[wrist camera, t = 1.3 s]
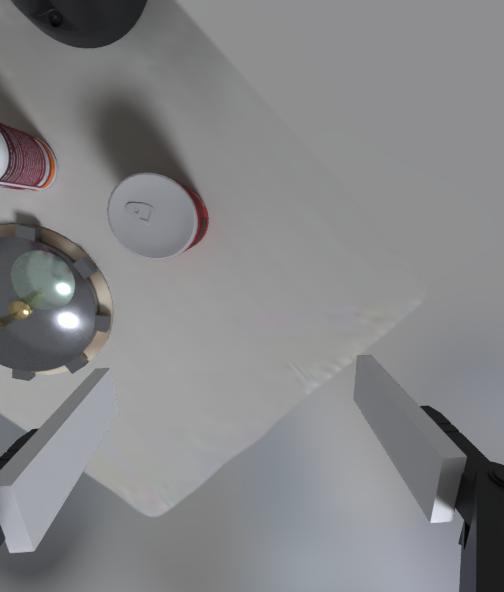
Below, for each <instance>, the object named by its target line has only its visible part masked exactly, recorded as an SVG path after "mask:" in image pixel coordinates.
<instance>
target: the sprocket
mask: <svg viewBox="0 0 504 592" xmlns="http://www.w3.org/2000/svg"><path fill="white" fill-rule="evenodd" d="M41 238H42V228H37V227H33V226H29V225H24V224H16V230H15V237H14V236H13V237H1V238H0V364H1V365H3V366H6V367H9V368H12V369H13V372H12V378H16V379H22V380H27V381H30V380H31V379H32V378H34V377H35V373H36V372H40V371H48V370H52V369H56V368H59V367H62V366H65V367H66V368H67V369H68V370H69V371H70V372H71V373H74V372H76V371H77V370H79V369H80V368H82V367H84V366H85V365H86V364H87V363H88V362H89V361H88V360H87V359H86V358H85V356H84V355H83V354H82V352H84V351H85V350H86V349H87V348H88V346H89V345H90V344H91V342H92V341H93V339H94V337H95V335H96V333H97V331H100V332H105V333H106V332H107V331H108V330H110V324H111V315H112V314H107V313H102V312H100V305H99V300H98V296H97V293H96V290H95V288H94V285H93V284H92V282H91V280H90V278H89V277H90V276H92V275H93V274H95V273H96V272H98V271H97V269H96V268H95V267H94V266H93V264H92V263H91V262H90V260H89V259H88V258H87V257H84V258H81V259H79V260H78V261H75V260H74V259H72V258H71V257H70V256H69V255H68V254H66V253H65V252H63V251H62V250H60V249H58V248H57V247H55V246H53V245H51V244H48V243H46V242H44V241H41Z"/></svg>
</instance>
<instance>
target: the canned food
mask: <svg viewBox="0 0 504 592" xmlns="http://www.w3.org/2000/svg"><path fill="white" fill-rule="evenodd" d="M107 213H108V221H109V224H110V227H111V229H112V231H113V234H114V235H115V237H116V238H117V239H118V241H119V242H120V243H121V244H122V245H123V246H124V247H125V248H126V249H127V250H129V251H130V252H132V253H133V254H136V255H138V256H140V257H143V258H147V259H153V260H162V259H169V258H172V257H175V256H177V255H179V254H181V253H183V252H184V251H186V250H188V249H189V248H191V247H193V246H194V245H196V244H197V243H198V242H199V241H201V240H202V238H203V237H204V236H205V233H206V231H207V228H208V219H209V218H208V212H207V209H206V207H205V205H204V203H203V201H202V200H201V199H200V198H199V197H198V195H196V194H195V193H194V192H193V191H191V190H190V189H188V188H186V187H185V186H183V185H181V184H180V183H178V182H177V181H175V180H173V179H171V178H169V177H167V176H164V175H160V174H157V173H147V172H145V173H137V174H134V175H131V176H128V177H127V178H125V179H123V180H122V181H121V182H120V183H119V184H118V185H117V186H116V187H115V188H114V190H113V191H112V193H111V195H110V198H109V201H108V208H107Z"/></svg>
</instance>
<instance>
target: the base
mask: <svg viewBox="0 0 504 592" xmlns="http://www.w3.org/2000/svg"><path fill="white" fill-rule="evenodd" d="M24 225H25V224H24ZM29 226H31V225H29ZM33 227H37V226H33ZM37 228H40V227H37ZM15 230H16V224H7V225H0V238H1V237H13V236H14V237H15ZM41 241H44V242H46V243H48V244H51V245H53V246H55V247H57V248H58V249H60V250H62V251H63V252H65V253H66V254H68V255H69V256H70V257H71V258H72V259H74V260H75V261H78V260H79V259H81V258H84V257H87V258H88V259H89V260H90V262H91V263H92V264H93V266H94V267H95V268H96V269H97V271H98V272H96V273H95V274H93V275H92V276H90V277H89V278H90V280H91V282H92V284H93V285H94V288H95V290H96V293H97V296H98V300H99V305H100V312H102V313H107V314H112V315H111V324H110V330H108V331H107V332H106V333H105V332H100V331H97V333H96V335H95V337H94V339H93V341H92V342H91V344H90V345H89V346H88V348H87V349H86V350H85V351H84V352H82V354H83V355H84V356H85V358H86V359H87V360H88V361H89V360H91V359H92V358H93V357H94V356H95V355H96V354H97V353H98V352H99V351H100V350H101V348H102V347H103V346H104V344H105V342H106V340H107V339H108V336H109V334H110V331H111V327H112V322H113V304H112V298H111V294H110V290H109V288H108V285H107V283H106V281H105V279H104V277H103V275H102V273H101V271H100V270H99V269H98V267H97V266H96V264H95V263H94V262H93V261H92V259H91V258H90V257H89V256H88V255H87V254H86V253H85V252H84V251H83V250H82V249H80V248H79V247H78V246H77V245H75V244H74V243H72V242H71V241H70V240H68V239H66V238H65V237H63V236H61V235H59V234H57V233H55V232H52V231H50V230H47V229H44V228H42V238H41ZM67 371H69V370H68V369H67V368H66V367H65V366H62V367H59V368H56V369H52V370H48V371H40V372H36V373H35V374H57V373H63V372H67Z"/></svg>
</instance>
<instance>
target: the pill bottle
mask: <svg viewBox="0 0 504 592" xmlns="http://www.w3.org/2000/svg"><path fill="white" fill-rule="evenodd" d="M56 175H57V162H56V159H55V156H54V154H53V152H52V151H51V149H50V148H49V147H48V146H47V145H46V144H45V143H44V142H43V141H42V140H40V139H39V138H37V137H35V136H32V135H30V134H27V133H25V132H22V131H20V130H17V129H15V128H12V127H10V126H7V125H4V124H2V123H0V187H4V188H11V189H19V190H27V191H41V190H44V189H46V188H48V187H49V186H50V185H51V184H52V183H53V182H54V180H55V178H56Z"/></svg>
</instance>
